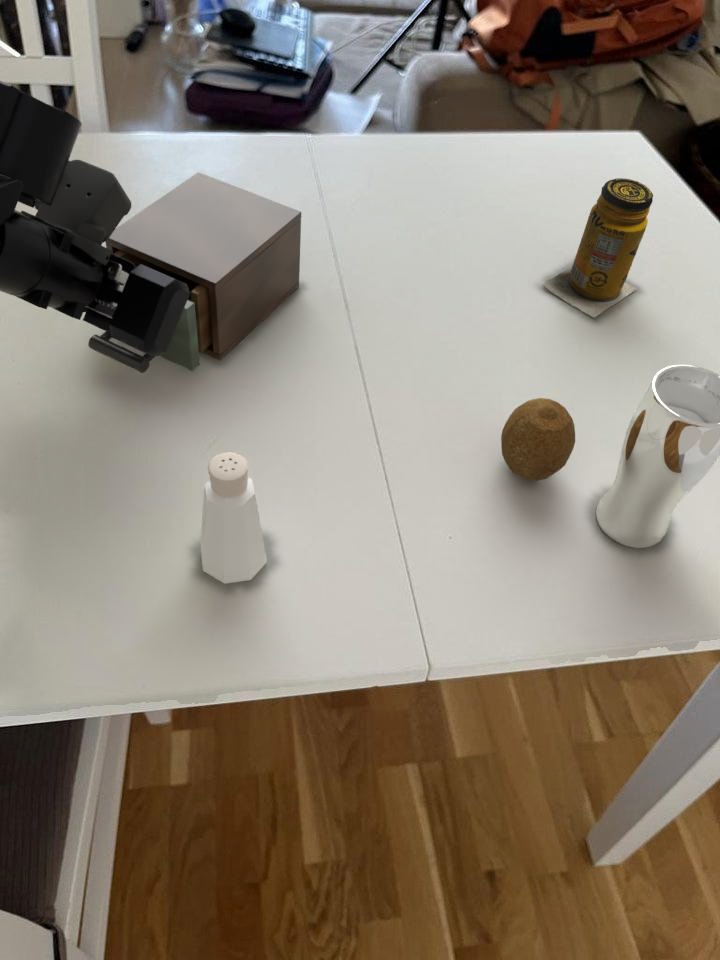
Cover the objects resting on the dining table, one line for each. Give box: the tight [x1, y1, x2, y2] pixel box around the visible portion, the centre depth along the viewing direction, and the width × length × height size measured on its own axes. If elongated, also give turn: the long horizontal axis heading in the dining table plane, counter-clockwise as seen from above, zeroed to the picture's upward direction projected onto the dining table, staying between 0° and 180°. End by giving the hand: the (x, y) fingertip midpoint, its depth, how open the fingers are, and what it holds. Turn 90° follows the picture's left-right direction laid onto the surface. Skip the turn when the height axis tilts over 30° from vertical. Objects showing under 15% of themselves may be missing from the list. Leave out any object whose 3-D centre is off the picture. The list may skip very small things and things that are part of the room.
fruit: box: [500, 397, 576, 481], centre depth 72 cm, size 6×6×8 cm
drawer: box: [88, 250, 213, 374], centre depth 80 cm, size 18×11×7 cm, turn 151°
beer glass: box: [595, 364, 720, 549], centre depth 66 cm, size 7×7×15 cm
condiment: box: [541, 177, 654, 319], centre depth 89 cm, size 7×8×12 cm
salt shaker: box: [199, 451, 268, 584], centre depth 62 cm, size 5×5×11 cm
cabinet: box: [104, 171, 302, 362], centre depth 84 cm, size 15×13×9 cm
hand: (134, 301), depth 75 cm, fingers closed, pressing on drawer
